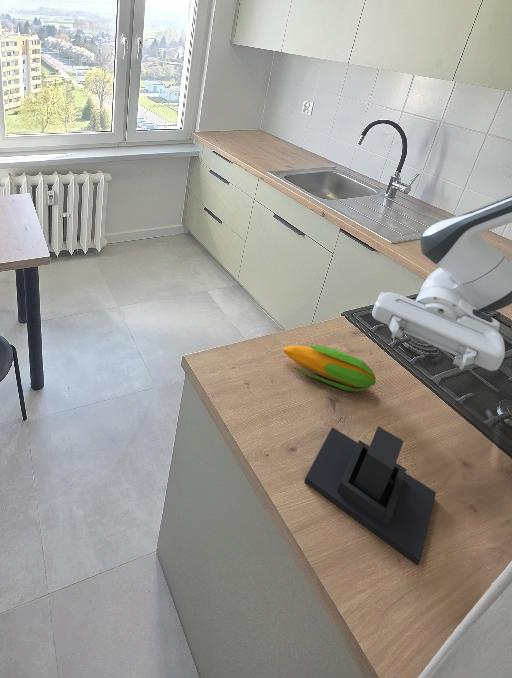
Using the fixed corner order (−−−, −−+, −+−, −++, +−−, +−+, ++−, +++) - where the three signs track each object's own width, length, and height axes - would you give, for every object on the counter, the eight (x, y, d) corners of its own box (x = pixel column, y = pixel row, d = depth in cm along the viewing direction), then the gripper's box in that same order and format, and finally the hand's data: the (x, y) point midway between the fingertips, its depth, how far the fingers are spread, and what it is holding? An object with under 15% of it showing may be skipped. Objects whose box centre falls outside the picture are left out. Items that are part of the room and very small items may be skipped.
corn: (381, 379, 89) (284, 345, 97) (371, 406, 92) (278, 371, 100) (379, 357, 95) (288, 328, 103) (370, 383, 98) (281, 352, 106)
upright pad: (386, 477, 76) (403, 440, 72) (376, 507, 72) (393, 470, 67) (363, 462, 79) (378, 425, 75) (351, 490, 74) (366, 453, 70)
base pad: (433, 497, 75) (440, 483, 73) (417, 565, 65) (425, 551, 64) (330, 431, 86) (335, 418, 84) (303, 482, 76) (308, 468, 75)
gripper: (386, 277, 88) (367, 308, 79) (511, 326, 76) (506, 368, 66) (377, 301, 91) (358, 333, 81) (497, 352, 78) (490, 397, 69)
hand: (426, 350), depth 74 cm, fingers open, 8 cm apart
